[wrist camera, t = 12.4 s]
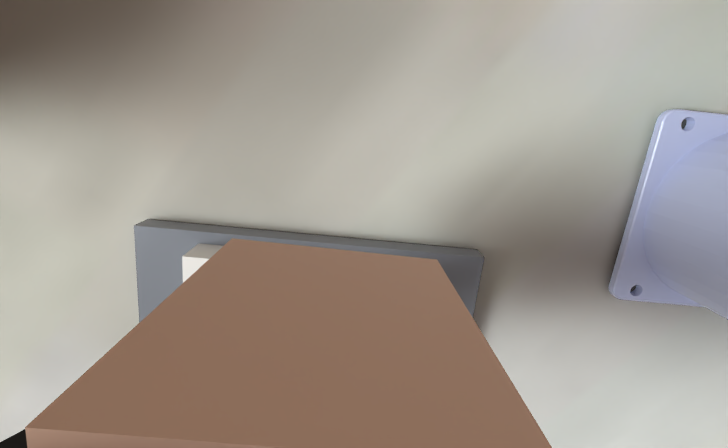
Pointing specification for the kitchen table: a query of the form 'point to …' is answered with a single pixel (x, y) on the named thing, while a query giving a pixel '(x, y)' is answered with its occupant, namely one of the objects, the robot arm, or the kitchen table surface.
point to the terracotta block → (297, 362)
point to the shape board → (200, 242)
